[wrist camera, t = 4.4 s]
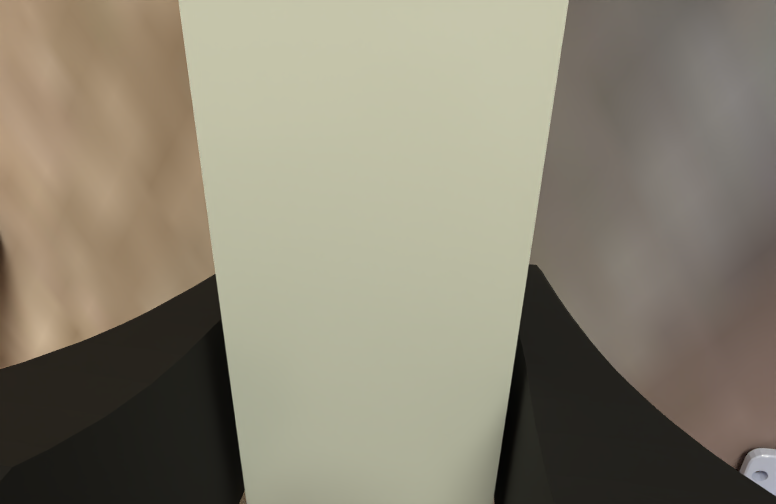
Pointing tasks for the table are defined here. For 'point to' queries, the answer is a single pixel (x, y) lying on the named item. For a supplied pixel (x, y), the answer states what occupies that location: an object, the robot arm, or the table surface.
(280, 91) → the cream rectangular block
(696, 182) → the table surface
